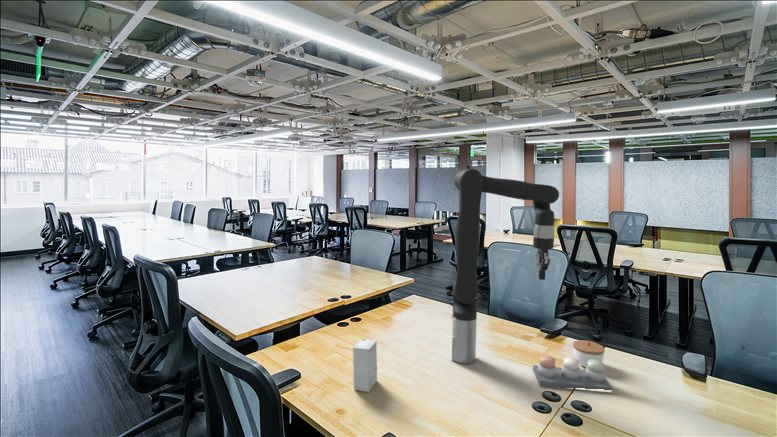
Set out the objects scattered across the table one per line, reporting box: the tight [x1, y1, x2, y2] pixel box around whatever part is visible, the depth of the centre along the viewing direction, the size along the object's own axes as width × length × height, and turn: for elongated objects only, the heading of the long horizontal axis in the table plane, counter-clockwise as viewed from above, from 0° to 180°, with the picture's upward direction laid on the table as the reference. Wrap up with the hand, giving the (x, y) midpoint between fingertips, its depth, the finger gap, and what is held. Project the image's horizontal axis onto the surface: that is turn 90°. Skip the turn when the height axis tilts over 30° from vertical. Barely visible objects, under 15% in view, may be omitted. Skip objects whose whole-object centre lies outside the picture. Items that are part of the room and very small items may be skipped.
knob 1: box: [539, 354, 556, 369], centre depth 130 cm, size 5×5×2 cm
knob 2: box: [587, 359, 605, 373], centre depth 128 cm, size 5×5×2 cm
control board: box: [532, 361, 613, 391], centre depth 129 cm, size 23×11×5 cm, turn 80°
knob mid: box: [562, 356, 580, 371], centre depth 129 cm, size 5×5×2 cm
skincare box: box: [352, 338, 378, 393], centre depth 126 cm, size 8×6×15 cm
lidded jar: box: [572, 339, 605, 368], centre depth 141 cm, size 11×11×9 cm
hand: (541, 279), depth 145 cm, fingers closed
